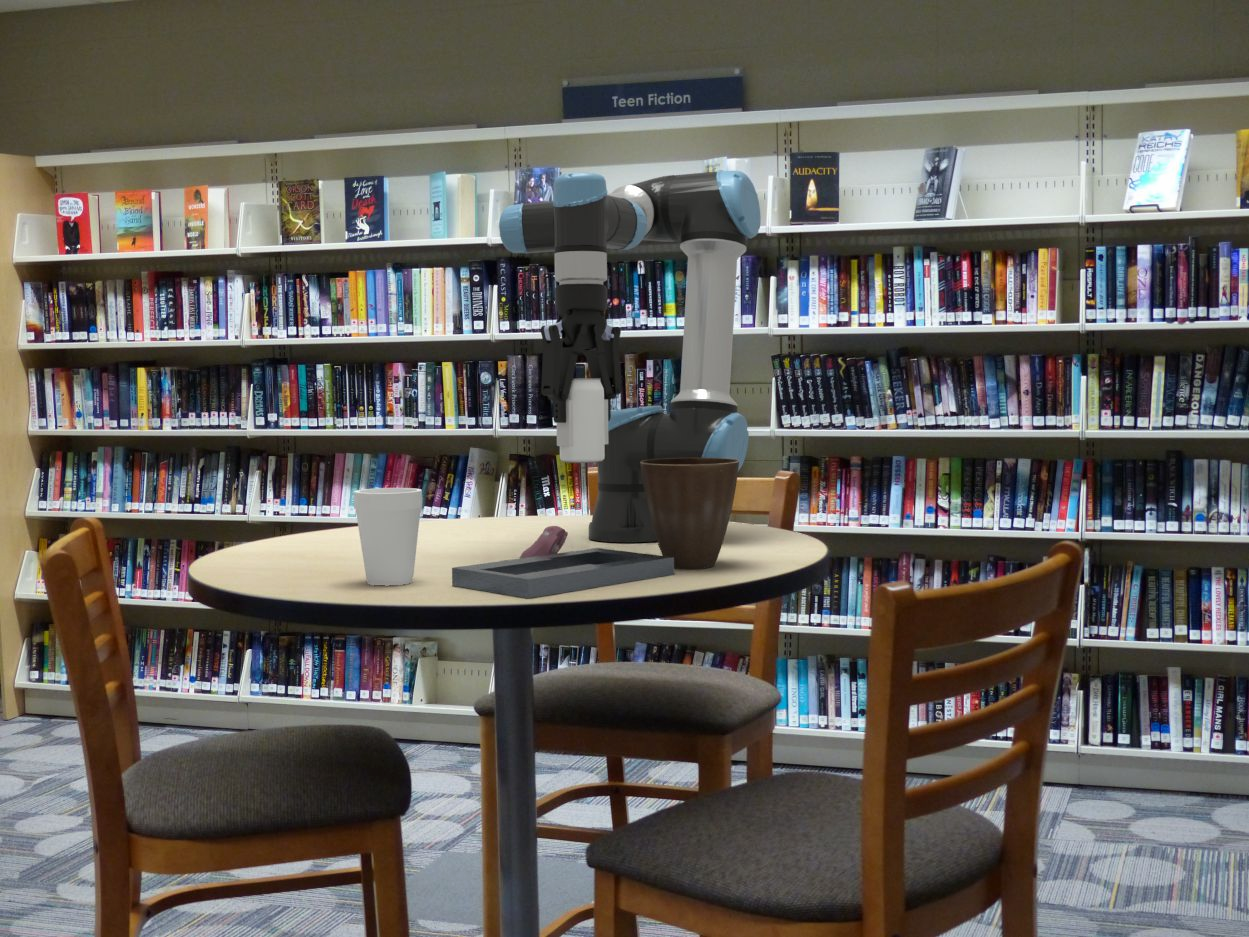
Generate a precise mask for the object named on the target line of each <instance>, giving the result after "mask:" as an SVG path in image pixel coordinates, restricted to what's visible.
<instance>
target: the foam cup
mask: <svg viewBox="0 0 1249 937" xmlns="http://www.w3.org/2000/svg"><path fill="white" fill-rule="evenodd" d="M422 507H423V489H421V488H413V487H379V488H377V487H376V488H363V489H358V490H354V491H353V509H355V515H356V520H357V526H358V532H359V540H360V546H361V552H362V559H363V565H364V572H365V573H364V574H365V579H366V580H367V581H366V584H367V585H369V584H370V585H369V586H374V585H385V586H384V587H390V586H389V585H398V586H404V585H403V584H406V585H409V583H410V584H412V583H413V580H414V579H413V578H414V574H415V563H416V554H417V545H418V537H419V526H420V518H421V508H422Z"/></svg>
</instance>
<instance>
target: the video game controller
mask: <svg viewBox="0 0 1249 937" xmlns="http://www.w3.org/2000/svg"><path fill="white" fill-rule="evenodd" d="M568 534H569V532H568V531H566V530H565V529H564V528H562V527H561V526H558V525H551V526H547V527H545V528H544V529H543V531H542V533H541V534H540V535H539V537H538V538H537V540H535V541H534V542H533V543H532V544H531V545H530V546H529V547H528V548H526V549H525V550H523V552H522V553H521V555H520V557H519V559H520V558H527V557H535V556H542V555H549V554H556V553H560V552H559V551H560V550H561V549H562V547H563V545H565V542H566V540H567V537H568Z"/></svg>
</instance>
